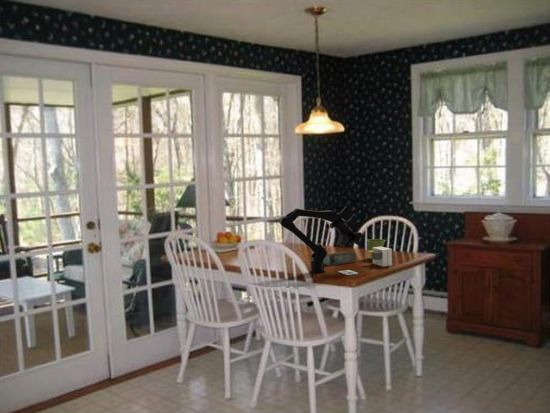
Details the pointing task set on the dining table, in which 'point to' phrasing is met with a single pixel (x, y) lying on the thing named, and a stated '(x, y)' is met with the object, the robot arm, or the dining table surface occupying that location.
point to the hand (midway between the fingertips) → (360, 245)
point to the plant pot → (375, 243)
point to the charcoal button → (376, 255)
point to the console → (383, 256)
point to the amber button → (370, 253)
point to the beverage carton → (339, 258)
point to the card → (348, 272)
